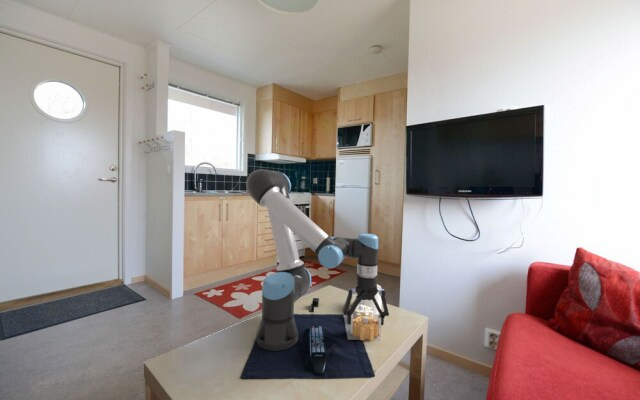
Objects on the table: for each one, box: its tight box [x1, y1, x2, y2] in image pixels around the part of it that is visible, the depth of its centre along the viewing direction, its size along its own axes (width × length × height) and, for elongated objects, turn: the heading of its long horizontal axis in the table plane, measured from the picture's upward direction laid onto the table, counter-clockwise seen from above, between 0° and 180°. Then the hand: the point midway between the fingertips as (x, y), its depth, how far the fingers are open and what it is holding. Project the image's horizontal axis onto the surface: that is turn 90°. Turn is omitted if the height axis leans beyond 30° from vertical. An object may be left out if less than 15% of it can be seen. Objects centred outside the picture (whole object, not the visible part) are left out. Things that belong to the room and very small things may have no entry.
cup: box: [355, 283, 382, 316], centre depth 124 cm, size 12×12×12 cm
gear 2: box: [353, 316, 379, 342], centre depth 102 cm, size 10×10×5 cm
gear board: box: [343, 305, 381, 341], centre depth 108 cm, size 12×19×8 cm, turn 0°
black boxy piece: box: [308, 297, 320, 313], centre depth 127 cm, size 12×7×5 cm, turn 174°
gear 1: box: [352, 304, 374, 319], centre depth 113 cm, size 10×10×5 cm
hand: (364, 332), depth 103 cm, fingers open, 10 cm apart
